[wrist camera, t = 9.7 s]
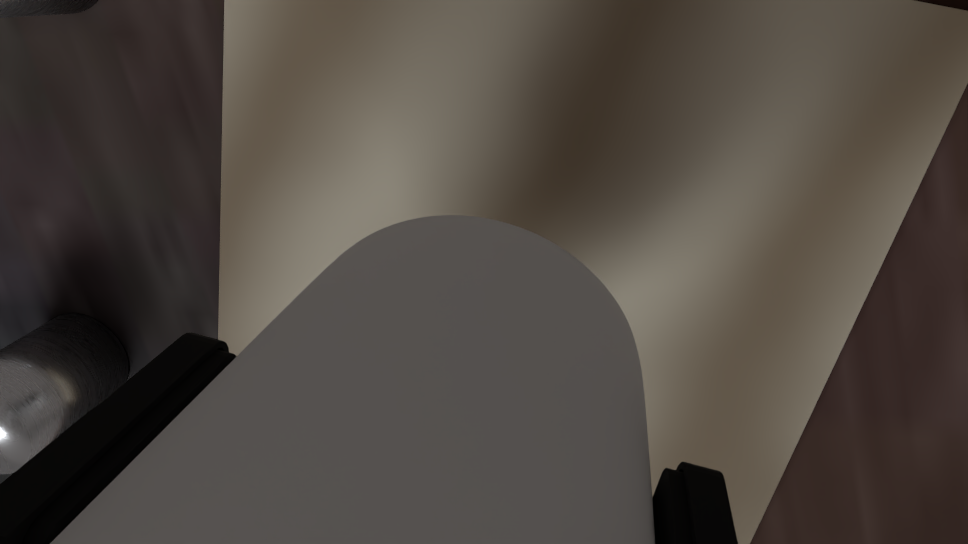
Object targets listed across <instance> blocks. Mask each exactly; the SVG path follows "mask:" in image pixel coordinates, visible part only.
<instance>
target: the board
mask: <svg viewBox="0 0 968 544" xmlns="http://www.w3.org/2000/svg"><path fill="white" fill-rule="evenodd" d="M967 83H968V11H966V10H961V9H955V8H950V7H945V6H940V5H935V4H930V3H925V2H920V1H914V0H225V3H224V57H223V110H222V164H221V218H220V272H219V325H218V340H221V341H224V342H226V343H227V345H228V348H229V353H233V354H235V355H236V357H237V356H238V355H239V354H240V353H241V352H242V351H243V350H244V349H245V348H246V347H247V346H248V345H249V344H250V343H251V342H252V341H253V340H254V339H255V338H256V337H257V336H258V335H259V334H260V333H261V332H262V331H263V330H264V329H265V328H266V327H267V326H268V325H269V324H270V323H271V322H272V321H273V320H274V319H275V318H276V317H277V316H278V315H279V314H280V313H281V312H282V311H283V310H284V309H285V308H286V307H287V306H288V305H289V304H290V303H291V302H292V301H293V300H294V299H295V298H296V297H297V296H298V295H299V294H300V293H301V292H302V291H303V290H304V289H305V288H306V287H307V286H308V285H309V284H310V283H311V282H312V281H313V280H314V279H315V278H316V277H318V276H319V275H320V274H321V273H322V272H323V271H324V270H325V269H326V268H327V267H328V266H329V265H330V264H331V263H332V262H333V261H335V260H336V259H337V258H338V257H339V256H340V255H341V254H342V253H344V252H345V251H346V250H348V249H349V248H350V247H352V246H353V245H354V244H356V243H357V242H359V241H360V240H362V239H363V238H365V237H367V236H369V235H370V234H372V233H374V232H376V231H378V230H381V229H383V228H385V227H388V226H391V225H393V224H396V223H400V222H403V221H407V220H411V219H416V218H421V217H428V216H440V215H463V216H474V217H482V218H487V219H492V220H497V221H501V222H505V223H508V224H511V225H514V226H517V227H520V228H523V229H525V230H528V231H530V232H533V233H535V234H537V235H539V236H541V237H543V238H545V239H547V240H549V241H551V242H553V243H554V244H556V245H558V246H559V247H561V248H562V249H564V250H565V251H567V252H568V253H570V254H571V255H572V256H574V257H575V258H576V259H578V260H579V261H580V262H581V263H583V264H584V265H585V266H586V267H587V268H588V269H589V270H590V271H591V272H592V273H593V274H594V275H595V276H596V277H597V278H598V279H599V280H600V281H601V282H602V283H603V284H604V285H605V287H606V288H607V289H608V290H609V292H610V293H611V294H612V296H613V297H614V298H615V300H616V301H617V303H618V304H619V306H620V308H621V309H622V311H623V313H624V315H625V317H626V319H627V321H628V323H629V325H630V328H631V330H632V333H633V336H634V339H635V343H636V346H637V351H638V355H639V359H640V364H641V370H642V377H643V386H644V395H645V407H646V419H647V431H648V445H649V459H650V473H651V487H652V497H653V495H654V492H655V489H656V487H657V484H658V482H659V479H660V476H661V474H662V472H663V470H664V469H665V468H669V469H673V470H676V469H677V467H678V465H679V464H680V463H681V462H687V463H691V464H694V465H698V466H702V467H706V468H710V469H713V470H717V471H720V472H722V473H723V476H724V479H725V484H726V488H727V493H728V498H729V503H730V508H731V512H732V517H733V522H734V527H735V532H736V537H737V541H738V544H750V542H751V540H752V538H753V536H754V534H755V532H756V530H757V527H758V525H759V523H760V521H761V519H762V517H763V515H764V513H765V511H766V508H767V506H768V504H769V502H770V500H771V498H772V496H773V494H774V492H775V489H776V487H777V485H778V483H779V481H780V479H781V477H782V475H783V473H784V470H785V468H786V466H787V464H788V462H789V460H790V458H791V456H792V453H793V451H794V449H795V447H796V445H797V443H798V441H799V439H800V437H801V434H802V432H803V430H804V428H805V426H806V424H807V422H808V420H809V418H810V415H811V413H812V411H813V409H814V407H815V405H816V403H817V401H818V399H819V396H820V394H821V392H822V390H823V388H824V386H825V384H826V382H827V379H828V377H829V375H830V373H831V371H832V369H833V367H834V365H835V363H836V360H837V358H838V356H839V354H840V352H841V350H842V348H843V346H844V344H845V341H846V339H847V337H848V335H849V333H850V331H851V329H852V327H853V324H854V322H855V320H856V318H857V316H858V314H859V312H860V310H861V308H862V305H863V303H864V301H865V299H866V297H867V295H868V293H869V291H870V289H871V286H872V284H873V282H874V280H875V278H876V276H877V274H878V272H879V270H880V267H881V265H882V263H883V261H884V259H885V257H886V255H887V253H888V250H889V248H890V246H891V244H892V242H893V240H894V238H895V236H896V234H897V231H898V229H899V227H900V225H901V223H902V221H903V219H904V217H905V215H906V212H907V210H908V208H909V206H910V204H911V202H912V200H913V198H914V195H915V193H916V191H917V189H918V187H919V185H920V183H921V181H922V179H923V176H924V174H925V172H926V170H927V168H928V166H929V164H930V162H931V160H932V157H933V155H934V153H935V151H936V149H937V147H938V145H939V143H940V141H941V138H942V136H943V134H944V132H945V130H946V128H947V126H948V124H949V121H950V119H951V117H952V115H953V113H954V111H955V109H956V107H957V105H958V102H959V100H960V98H961V96H962V94H963V92H964V90H965V88H966V86H967Z"/></svg>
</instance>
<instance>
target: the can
mask: <svg viewBox="0 0 968 544" xmlns="http://www.w3.org/2000/svg"><path fill="white" fill-rule="evenodd" d="M50 544H655V530H654V515H653V501H652V487H651V473H650V459H649V445H648V431H647V419H646V407H645V395H644V386H643V377H642V370H641V364H640V359H639V355H638V351H637V346H636V343H635V339H634V336H633V333H632V330H631V328H630V325H629V323H628V321H627V319H626V317H625V315H624V313H623V311H622V309H621V308H620V306H619V304H618V303H617V301H616V300H615V298H614V297H613V296H612V294H611V293H610V292H609V290H608V289H607V288H606V287H605V285H604V284H603V283H602V282H601V281H600V280H599V279H598V278H597V277H596V276H595V275H594V274H593V273H592V272H591V271H590V270H589V269H588V268H587V267H586V266H585V265H584V264H583V263H581V262H580V261H579V260H578V259H576V258H575V257H574V256H572V255H571V254H570V253H568V252H567V251H565V250H564V249H562V248H561V247H559V246H558V245H556V244H554V243H553V242H551V241H549V240H547V239H545V238H543V237H541V236H539V235H537V234H535V233H533V232H530V231H528V230H525V229H523V228H520V227H517V226H514V225H511V224H508V223H505V222H501V221H497V220H492V219H487V218H482V217H474V216H463V215H440V216H428V217H421V218H416V219H411V220H407V221H403V222H400V223H396V224H393V225H391V226H388V227H385V228H383V229H381V230H378V231H376V232H374V233H372V234H370V235H369V236H367V237H365V238H363V239H362V240H360V241H359V242H357V243H356V244H354V245H353V246H352V247H350V248H349V249H348V250H346V251H345V252H344V253H342V254H341V255H340V256H339V257H338V258H337V259H336V260H335V261H333V262H332V263H331V264H330V265H329V266H328V267H327V268H326V269H325V270H324V271H323V272H322V273H321V274H320V275H319V276H318V277H316V278H315V279H314V280H313V281H312V282H311V283H310V284H309V285H308V286H307V287H306V288H305V289H304V290H303V291H302V292H301V293H300V294H299V295H298V296H297V297H296V298H295V299H294V300H293V301H292V302H291V303H290V304H289V305H288V306H287V307H286V308H285V309H284V310H283V311H282V312H281V313H280V314H279V315H278V316H277V317H276V318H275V319H274V320H273V321H272V322H271V323H270V324H269V325H268V326H267V327H266V328H265V329H264V330H263V331H262V332H261V333H260V334H259V335H258V336H257V337H256V338H255V339H254V340H253V341H252V342H251V343H250V344H249V345H248V346H247V347H246V348H245V349H244V350H243V351H242V352H241V353H240V354H239V355H238V356H237V357H236V358H235V359H234V360H233V361H232V362H231V363H230V364H229V365H228V366H227V367H226V368H225V369H224V370H223V371H222V372H221V373H220V374H219V375H218V376H217V377H216V378H215V379H214V380H213V381H212V382H211V383H210V384H209V385H208V386H207V387H206V388H205V389H204V390H203V391H202V392H201V393H200V394H199V395H198V396H197V397H196V398H195V399H194V400H193V401H192V402H191V403H190V404H189V405H188V406H187V407H186V408H185V409H184V410H183V411H182V412H181V413H180V414H179V415H178V416H177V417H176V418H175V419H174V420H173V421H172V422H171V423H170V424H169V425H168V426H167V427H166V428H165V429H164V430H163V431H162V432H161V433H160V434H159V435H158V436H157V437H156V438H155V439H154V440H153V441H152V442H151V443H150V444H149V445H148V446H147V447H146V448H145V449H144V450H143V451H142V452H141V453H140V454H139V455H138V456H137V457H136V458H135V459H134V460H133V461H132V462H131V463H130V464H129V465H128V466H127V467H126V468H125V469H124V470H123V471H122V472H121V473H120V474H119V475H118V476H117V477H116V478H115V479H114V480H113V481H112V482H111V483H110V484H109V485H108V486H107V487H106V488H105V489H104V490H103V491H102V492H101V493H100V494H99V495H98V496H97V497H96V498H95V499H94V500H93V501H92V502H91V503H90V504H89V505H88V506H87V507H86V508H85V509H84V510H83V511H82V512H81V513H80V514H79V515H78V516H77V517H76V518H75V519H74V520H73V521H72V522H71V523H70V524H69V525H68V526H67V527H66V528H65V529H64V530H63V531H62V532H61V533H60V534H59V535H58V536H57V537H56V538H55V539H54V540H53V541H52V542H51V543H50Z"/></svg>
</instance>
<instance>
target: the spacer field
mask: <svg viewBox="0 0 968 544" xmlns="http://www.w3.org/2000/svg"><path fill="white" fill-rule="evenodd" d="M97 1H98V0H0V18H6V17H23V16H40V15H57V14H74V13H79V12H82V11H85V10H87V9H89V8H90V7H92V6H93V5H94V4H95V3H96V2H97ZM128 373H129V364H128V359H127V355H126V352H125V350H124V348H123V346H122V344H121V343H120V341H119V340H118V339H117V337H116V336H115V335H114V334H113V333H112V332H111V331H110V330H109V329H108V328H107V327H106V326H104V325H103V324H102V323H100V322H98V321H97V320H95V319H93V318H91V317H88V316H85V315H82V314H77V313H66V314H62V315H59V316H57V317H55V318H53V319H52V320H50V321H48V322H47V323H45V324H43V325H42V326H40V327H38V328H37V329H35V330H33V331H31V332H30V333H28V334H26V335H25V336H23V337H21V338H20V339H18V340H16V341H15V342H13V343H11V344H9V345H8V346H6V347H4V348H3V349H1V350H0V474H10V473H13V472H16V471H17V470H18V469H19V468H21V467H22V466H23V465H24V464H25V463H27V462H28V461H29V460H30V459H31V458H33V457H34V456H35V455H36V454H38V453H39V452H40V451H41V450H42V449H44V448H45V447H46V446H47V445H48V444H50V443H51V442H52V441H53V440H54V439H56V438H57V437H58V436H59V435H61V434H62V433H63V432H64V431H65V430H67V429H68V428H69V427H70V426H71V425H73V424H74V423H75V422H76V421H77V420H79V419H80V418H81V417H82V416H84V415H85V414H86V413H87V412H88V411H90V410H91V409H93V408H94V407H96V406H97V405H99V404H100V403H101V402H103V401H104V400H105V399H106V398H107V397H109V396H110V395H111V394H112V393H113V392H115V391H116V390H117V389H118V388H120V387H121V386H122V385H123V384H124V383H125V382H126V380H127V377H128Z"/></svg>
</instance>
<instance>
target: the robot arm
mask: <svg viewBox="0 0 968 544" xmlns="http://www.w3.org/2000/svg"><path fill="white" fill-rule="evenodd" d="M235 358H236V355H235V354H233V353H229V348H228V345H227V343H226V342H224V341H221V340H218V339H214V338H210V337H206V336H202V335H199V334H195V333H186V334H184V335H182V336H181V337H180V338H179V339H177V340H176V341H175V342H174V343H173V344H171V345H170V346H169V347H168V348H167V349H165V350H164V351H163V352H162V353H161V354H159V355H158V356H157V357H156V358H154V359H153V360H152V361H151V362H150V363H148V364H147V365H146V366H145V367H144V368H142V369H141V370H140V371H139V372H138V373H136V374H135V375H134V376H133V377H132V378H130V379H129V380H128V381H127V382H126V383H124V384H123V385H122V386H121V387H120V388H118V389H117V390H116V391H115V392H113V393H112V394H111V395H110V396H109V397H107V398H106V399H105V400H104V401H103V402H101V403H100V404H99V405H97V406H96V407H94V408H93V409H91V410H90V411H88V412H87V413H86V414H85V415H84V416H82V417H81V418H80V419H79V420H77V421H76V422H75V423H74V424H73V425H71V426H70V427H69V428H68V429H67V430H65V431H64V432H63V433H62V434H61V435H59V436H58V437H57V438H56V439H54V440H53V441H52V442H51V443H50V444H48V445H47V446H46V447H45V448H44V449H42V450H41V451H40V452H39V453H38V454H36V455H35V456H34V457H33V458H31V459H30V460H29V461H28V462H27V463H25V464H24V465H23V466H22V467H21V468H19V469H18V470H17V471H16V472H15V473H13V474H12V475H11V476H10V477H8V478H7V479H6V480H5V481H4V482H2V483H1V484H0V544H50V543H51V542H52V541H53V540H54V539H55V538H56V537H57V536H58V535H59V534H60V533H61V532H62V531H63V530H64V529H65V528H66V527H67V526H68V525H69V524H70V523H71V522H72V521H73V520H74V519H75V518H76V517H77V516H78V515H79V514H80V513H81V512H82V511H83V510H84V509H85V508H86V507H87V506H88V505H89V504H90V503H91V502H92V501H93V500H94V499H95V498H96V497H97V496H98V495H99V494H100V493H101V492H102V491H103V490H104V489H105V488H106V487H107V486H108V485H109V484H110V483H111V482H112V481H113V480H114V479H115V478H116V477H117V476H118V475H119V474H120V473H121V472H122V471H123V470H124V469H125V468H126V467H127V466H128V465H129V464H130V463H131V462H132V461H133V460H134V459H135V458H136V457H137V456H138V455H139V454H140V453H141V452H142V451H143V450H144V449H145V448H146V447H147V446H148V445H149V444H150V443H151V442H152V441H153V440H154V439H155V438H156V437H157V436H158V435H159V434H160V433H161V432H162V431H163V430H164V429H165V428H166V427H167V426H168V425H169V424H170V423H171V422H172V421H173V420H174V419H175V418H176V417H177V416H178V415H179V414H180V413H181V412H182V411H183V410H184V409H185V408H186V407H187V406H188V405H189V404H190V403H191V402H192V401H193V400H194V399H195V398H196V397H197V396H198V395H199V394H200V393H201V392H202V391H203V390H204V389H205V388H206V387H207V386H208V385H209V384H210V383H211V382H212V381H213V380H214V379H215V378H216V377H217V376H218V375H219V374H220V373H221V372H222V371H223V370H224V369H225V368H226V367H227V366H228V365H229V364H230V363H231V362H232V361H233V360H234V359H235ZM652 501H653V515H654V530H655V544H738V541H737V537H736V532H735V527H734V522H733V517H732V512H731V508H730V503H729V498H728V493H727V488H726V484H725V479H724V476H723V473H722V472H720V471H717V470H713V469H710V468H706V467H702V466H698V465H694V464H691V463H687V462H681V463H680V464H679V465H678V467H677V469H676V470H673V469H669V468H665V469H664V470H663V472H662V474H661V476H660V479H659V482H658V484H657V487H656V489H655V492H654V495H653V497H652Z"/></svg>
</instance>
